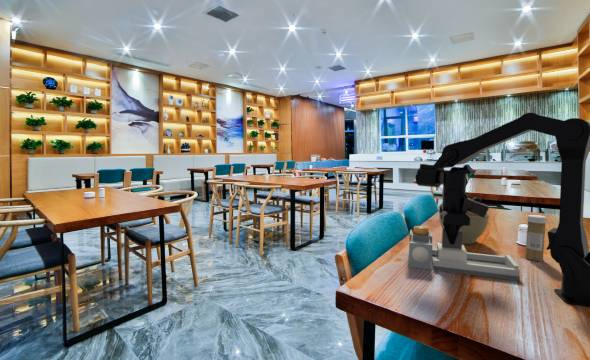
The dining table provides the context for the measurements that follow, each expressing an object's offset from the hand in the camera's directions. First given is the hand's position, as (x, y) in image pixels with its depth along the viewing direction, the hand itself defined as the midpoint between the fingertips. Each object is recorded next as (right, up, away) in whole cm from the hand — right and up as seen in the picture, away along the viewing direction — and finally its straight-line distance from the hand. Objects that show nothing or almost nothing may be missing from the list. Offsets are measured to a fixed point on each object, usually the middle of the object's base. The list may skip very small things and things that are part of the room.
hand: (451, 242), depth 89 cm
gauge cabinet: (-8, -6, +4) cm, 11 cm away
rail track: (+5, -7, -1) cm, 8 cm away
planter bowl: (+16, -4, +25) cm, 30 cm away
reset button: (-8, +2, +3) cm, 8 cm away
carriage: (0, -5, 0) cm, 5 cm away
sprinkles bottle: (+28, -6, +6) cm, 29 cm away
